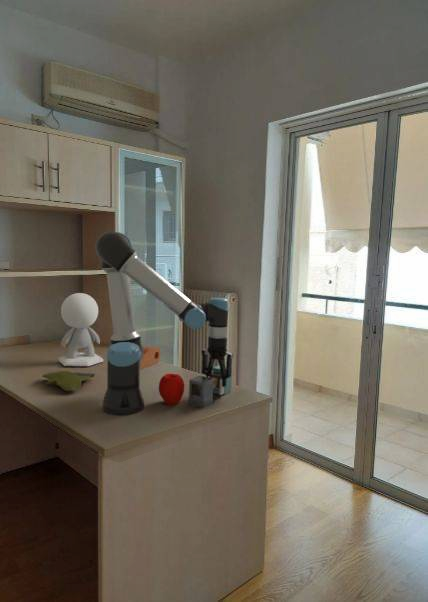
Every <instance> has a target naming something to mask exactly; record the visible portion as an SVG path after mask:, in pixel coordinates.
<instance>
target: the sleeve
mask: <svg viewBox="0 0 428 602" xmlns="http://www.w3.org/2000/svg"><path fill="white" fill-rule="evenodd" d="M188 381H189V382H188V383H189V384H188V385H189V386H188V387H189V390H188V405H189V406H193V407H197V408H202V409H204V408H206V407H207V406H209V405H211V404H213V402H214V401H213V400H214V399H213V397H214V396H213V395H214V393H213V378H209V377H206V376H205V375H197V376H195V377H193V378H190V379H189V380H188ZM200 385H201V386H202V390H200Z"/></svg>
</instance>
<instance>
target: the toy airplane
mask: <svg viewBox="0 0 428 602" xmlns="http://www.w3.org/2000/svg"><path fill="white" fill-rule="evenodd" d="M41 377H43V378H46V379H48V381H47V382H46V384H47V385H55V386H58V387H60V388H61V389H63V390H64V391H66V392H67V391H69V392H72V391H74V390H77V389H80V388H81V386H82V382H83V381H85V380H89V379H91V378H94V377H95V373H90V372H89V373H84V372H83V373H82V372H71V371H70V370H69V371H67V370H59V371H54V372H49V373H44V374H43V375H41Z"/></svg>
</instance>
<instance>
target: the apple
mask: <svg viewBox="0 0 428 602" xmlns="http://www.w3.org/2000/svg"><path fill="white" fill-rule="evenodd" d="M158 393H159V395H160V397H161V398H162V400H163V401H164V403H166V404H167V405H169V406H172V405H174V406H175V405H177V404H179V403H180V401H181V400H182V398H183V395H184V393H185V382H184V379H183V377H182V376H181V375H179V374H177V373H166V374H164V375H163V376H162V377H161V378H160V380H159V383H158Z"/></svg>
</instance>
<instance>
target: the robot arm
mask: <svg viewBox="0 0 428 602" xmlns="http://www.w3.org/2000/svg"><path fill="white" fill-rule="evenodd" d="M95 252H96V254H97V255H96V256H97V257H98V258H99V259H100V264H101V270H102V271H104V272H105V274H106V278H107V279H106V280H107V287H108V296H109V297H108V298H109V303H110V304H109V305H110V312H111V321H112V329H113V330H112V331H113V335H112V336H111V337H110V338H109V339H110V346H109V347H108V348H107V354H106V359H107V370H106V371H107V373H106V374H107V377H106V378H107V381H106V382H107V385H106V387H107V389H106V391H105V394H104V397H103V400H102V408H101V409H102V411H103V412H104V413H107V414H108V415H109V414H110V415H114V416H116V415H117V416H128V415H134V414H137V413H140V412H141V411H143V410H144V409H145V398H143V394H142V390H141V386H140V383H141V381H140V380H141V379H140V378H141V377H140V375H141V370H140V364H141V361H142V359H143V354H144V352H143V348H142V347H143V345H142V339H141V334H140V333H139V332H138V331H136V321H135V311H134V301H133V296H132V295H133V294H132V285H131V284H132V283H131V280H132V281H134V282H135V283H136V284H137V285H138V286H140V287H141V288H142V289H144V290H145V291H146V292H147V293H148V294H149V295H151V296H152V297H154V299H156V300H157V301H158V302H160V303H161V304H162V305H163V306H165V307H166V308H167V309H168V310H169V311H171V312H172V313H173V314H174V315H176V316H177V317H178V320H179V321H180V322H184V323H185V324H186V326H187V327H188V328H190V329H193V330H199V329H201V328H202V327H203V326H205V323H207V322H208V337H207V338H208V340H207V345H208V347H207V348H204V349H202V350H201V355H202V363H201V364H202V365H201V374H203V375H204V376H205V377H209V374H211V373H213V368H214V364H215V361H217V362H218V365H220V371H221V376H222V378H221V379H220V392H219V395H220V396H222V395H223V394H224V387H225V386H226V381H227V378H229V377H231V368H232V369H233V367H232V366H233V365H232V364H233V363H232V360H233V357H234V353H232V352H228V349H227V346H228V338H227V336H228V324H229V322H228V321H229V300H228V299H227V298H225V297H211V298H209V301H208V302H194V301H192V300H191V299H189V298H188V297H187V296H186V295H185V294H184V293H182V292H181V291H180V290H179V289H178V288H176V287H175V286H174V285H172V284H171V282H169V281H168V280H166V279H165V278H164V277H163V276H162V275H161V274H159V273H158V271H156V270H155V269H153V268H152V267H151V266H149V264H147V263H146V262H145V261H144V260H142V259H141V258H140V257H139V256H138V253H137V251H136V250H135V249H134V248H133V246H132V243H131V241H130V239H129V238H128V236H126V235H125V234H124V233H121V232H118V231H106V232H104V233H102V234H101V235H100V236H99V237H98V238H97V240H96V242H95ZM225 360H226V361H225ZM225 366H226V367H225Z"/></svg>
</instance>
